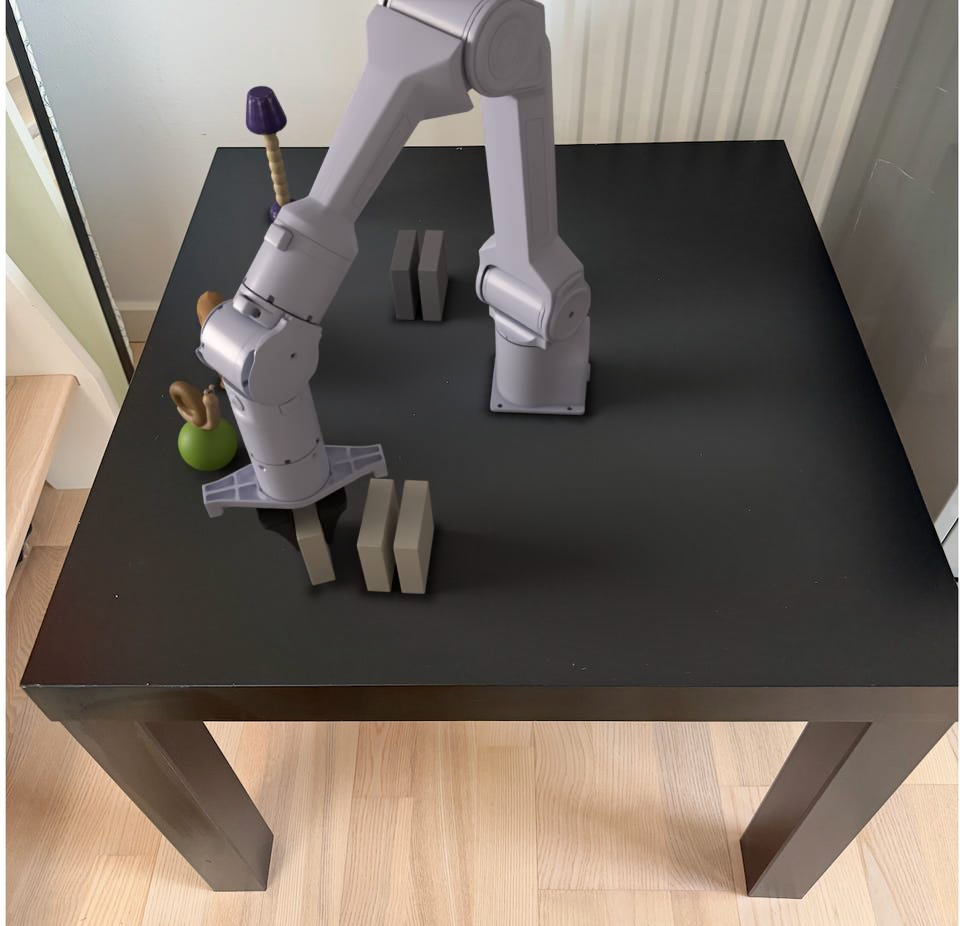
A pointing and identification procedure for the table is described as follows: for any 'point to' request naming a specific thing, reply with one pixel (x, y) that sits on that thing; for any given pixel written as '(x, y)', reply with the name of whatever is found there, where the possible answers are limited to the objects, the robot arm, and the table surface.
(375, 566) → the beige square block
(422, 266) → the gray square slab
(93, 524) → the table surface
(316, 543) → the beige square slab
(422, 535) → the beige square block
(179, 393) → the snail figurine
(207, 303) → the lion figurine
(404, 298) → the grey square slab
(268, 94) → the toy lamp
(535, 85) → the robot arm
